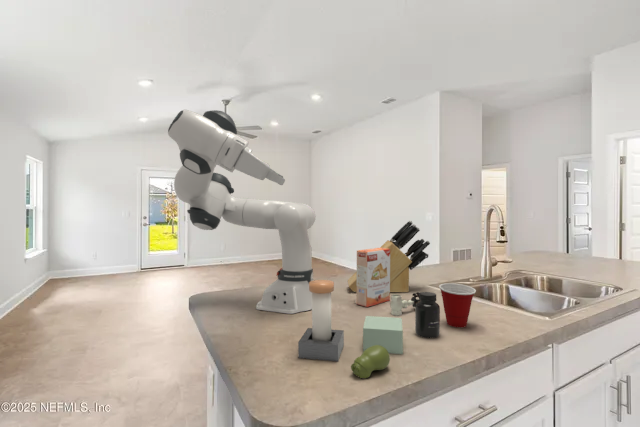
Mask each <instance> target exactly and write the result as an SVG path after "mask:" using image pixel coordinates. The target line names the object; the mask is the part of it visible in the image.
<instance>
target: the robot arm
mask: <svg viewBox="0 0 640 427" xmlns="http://www.w3.org/2000/svg"><path fill="white" fill-rule="evenodd" d="M236 126H237V125H236V124H235V121H234V120H233V118H232V116H230V115H229V114H228V113H227V112H224V111H223V110H207V111H204V113H203V114H202V115H201V114H199V113H197V112H194V111H192V110H188V109H183V110H181V111H179V112H178V113H177V115H176V116H175V117H174V119H173V120H172V122H171V123H170V125H169V127H168V128H167V135H168V136H169V138H170V139H172V140H173V141H174V142H175V143H176V145H177V146H178V149H179V159H180V163H181V167H180V168H179V169H178V170H177V172H176V174H175V176H174V180H173V188H174V191H175V195H176V196H177V198H178V199H179V200H180V201H181V202H183V203H187V204H188V205H189V209H187V210H186V212H187V213H188V214H189V220H190V221H191V223H192V225H193V226H195V227H196V228H198V229H200V230H203V231H213V230H216V229H217V228H218V227H219V225H220V222H221V220H222V219H223V220H224V221H225V222H226V223H230V224H233V225H237V226H241V227H247V228H254V229H255V228H256V229H263V230H264V229H265V230H278V236H279V240H280V246H281V262H282V266H281V268H280V269H279V270H277V272H276V276H277V279H276V280H274V281H273V282H272V283H271V284H269V285H268V286H267V287H266V288H265V289H264V290H263V292H262V298H261V300H259V301H258V302H257V303H256V305H255V309H256V310H258V311H259V310H260V311H266V312H267V311H268V312H272V313H273V312H274V313H281V314H289V315H290V314H292V315H293V314H297V313H299V312H300V313H301V312H305V311H306V312H307V311H310V310H311V311H312V292H310V291H309V282H310V281H314V270H313V269H314V268H312V266H313V264H312V263H313V262H312V258H313V257H312V246H311V244H310V240H309V239H310V238H309V232H308V231H309V229H310V228H312V226H313V225H314V224H315V222H316V216H317V215H316V213H315V210H314V209H313V208H312V207H311V206H310V205H309V204H307V203H303V202H295V201H282V200H270V199H269V200H268V199H258V198H249V197H248V198H246V197H235V196H233V193H235V189H234V188H233V187H232V183H231V182H230V180H229V178H228V177H226V176H225V175H223V174H221V173H218V172H214V171H215V168H216V166H219V167H220V168H223V169H225V170H226V171H228V172H230V173H233V172H234V171H235V170H236V171H239V173H243V174H245V175H247V176H250V177H251V178H254V179H257V180H259V181H260V180H261V181H264V180H265V179H267V180H269V181H271V182H274V183H276V184H277V185H280V186H283V185H284V184H285V182H286V179H285V178H284V176H283V175H281V174H280V173H278V172H277V171H275V170H274V169H272V168H271V167H270V164H269V163H267V162H266V161H264V160H262V159H260V158H259V157H257V156H256V155H254V154H253V149H252V148H250V147H249V146H248V145H249V141H248V140H246V139H244V138H243V137H240V136H239V135H237V134H238V130H237V127H236ZM221 218H222V219H221Z"/></svg>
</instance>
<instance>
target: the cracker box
mask: <svg viewBox="0 0 640 427" xmlns="http://www.w3.org/2000/svg"><path fill="white" fill-rule="evenodd" d="M356 271H357V292H356V305H359V306H361V307H366V308H369V307H372V306H375V305H380V304H382V303H386V302H389V301H390V302H391V296H390V294H391V292H390V249H388V248H380V247H375V248H367V249H360V250H359V249H358V250H356Z"/></svg>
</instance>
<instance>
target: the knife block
mask: <svg viewBox="0 0 640 427" xmlns="http://www.w3.org/2000/svg"><path fill="white" fill-rule="evenodd" d="M420 231H421V229H420V228H419V227H417V225H416V224H413V221H412V220H408V221H407V222H406V223H405V224H404V225H403V226H402V227H400V229H399V230H398V231H397V232H395V234H394V235H393V236H392V237H391V239H390V240H386V241H385V242H384V243H383V244H382V245H381V246H380V247H379V248H388V249H390V293H403V294H406V293H409V291H410V290H409V288H410V286H409V285H410V271H412V270H413V269H415V268H416V267H418V266H419V265H420V264H421V263H422V262H424V260H425V259H428V258H429V253H426V252H425V251H424V250H425V249H426V248H427V247H428V246H429V245H430V244H431V242H430V241H429V240H426V241H425V239H424V238H421V239H417V240H415V242H413V243H412V244H411V245H410V246H409V247H408V249H407V251H406V252H405V253H404V252H403V251H402V250H401V249H403V248H404V247H405V246H406V245H407V244H408V243H409V242H410V241H411V240H412V239H414V237H415V236H416V235H417V234H418V233H419V232H420ZM347 283H348V288H349V289H350V290H351V291H352V292H354V293H357V270H356V271H355V272H354V273H353V274H352V276H350V277H349V278H348V279H347Z"/></svg>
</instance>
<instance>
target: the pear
mask: <svg viewBox="0 0 640 427" xmlns="http://www.w3.org/2000/svg"><path fill="white" fill-rule="evenodd" d="M390 357H391V356H390V353H388V351H387V349H386V348H384V347H383V346H380V345H374V346H371V347H369V348H367V349H366V350H365V351H362V353H361V355H359V356H357V357H356V358H355V359H354V360H353V363H352V364H351V365H350V369H351V371H352V374H353V375H354V376H356V375H357V376H359V377H360V378H359V377H358V378H359V379H361V378H365V379H367V378H369V377H370V376H371V374H372V373H373V371H383V370H385V369H387V367H388V366H389V364H390V361H391V358H390ZM357 376H356V377H357Z"/></svg>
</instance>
